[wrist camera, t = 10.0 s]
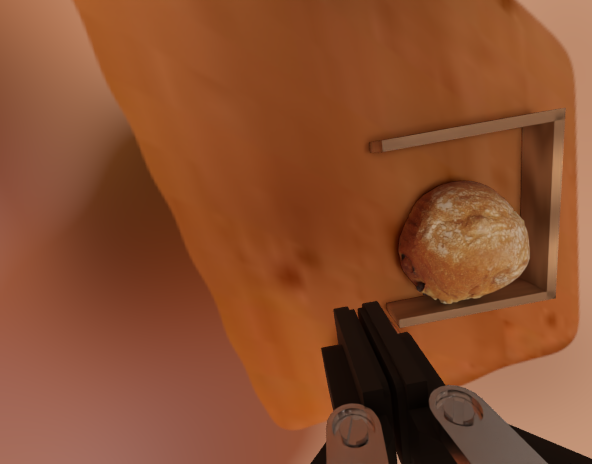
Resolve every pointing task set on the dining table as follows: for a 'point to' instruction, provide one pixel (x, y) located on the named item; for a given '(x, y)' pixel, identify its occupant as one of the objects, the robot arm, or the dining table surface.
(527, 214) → the open rail frame
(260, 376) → the dining table surface
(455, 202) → the bread roll
